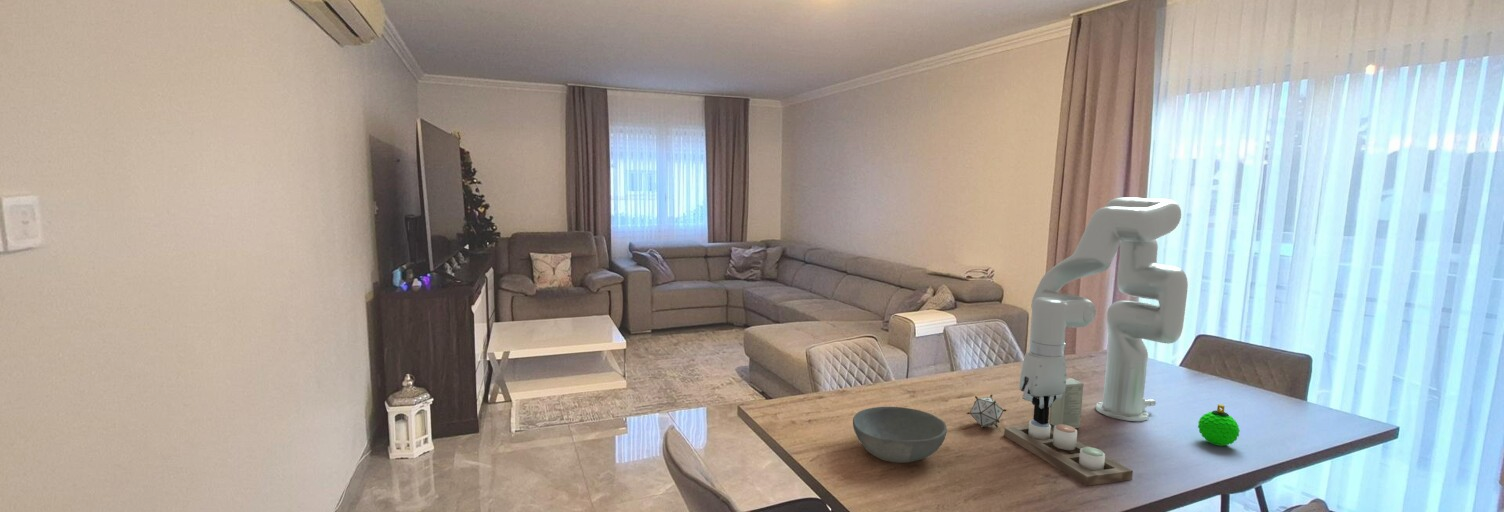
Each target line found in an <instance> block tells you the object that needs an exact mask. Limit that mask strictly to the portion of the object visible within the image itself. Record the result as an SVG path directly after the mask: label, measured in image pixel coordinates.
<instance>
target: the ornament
mask: <svg viewBox="0 0 1504 512" xmlns="http://www.w3.org/2000/svg"><path fill="white" fill-rule="evenodd" d="M1197 428H1198V431H1199V433H1200V435H1201V437H1202V438H1203V439H1205V441H1206V442H1209V443H1210V444H1213V446H1214V445H1215V446H1219V447H1220V446H1221V447H1222V446H1226V447H1227V446H1228V445H1232V444H1234V442H1236V441H1237V440H1238V438H1239V436H1240V432H1241V431H1240V426H1239V424H1238V422H1237V421H1236V420H1235V419H1234V417H1232V416H1231V415H1230V414H1229V413H1228V412H1225V405H1224V404H1217V409H1216V410H1213V411H1209V412H1207V413H1205V414H1203V415H1202V416H1201V417H1200V418H1199V420H1198V425H1197Z"/></svg>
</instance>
